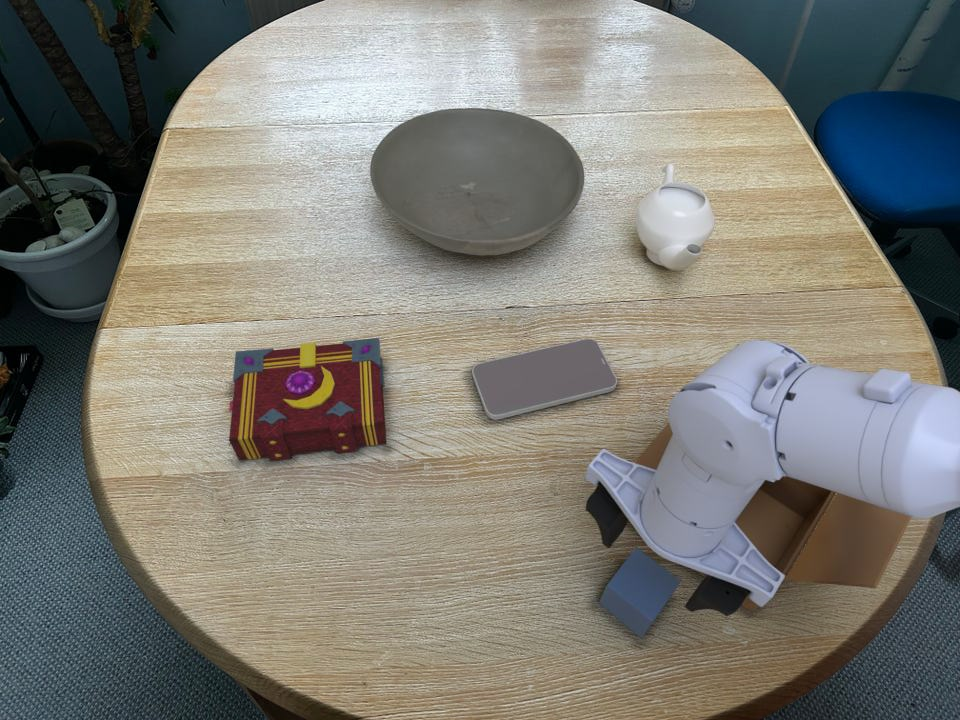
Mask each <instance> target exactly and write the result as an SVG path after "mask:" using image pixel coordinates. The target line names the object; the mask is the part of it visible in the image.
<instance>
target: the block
mask: <svg viewBox="0 0 960 720" xmlns="http://www.w3.org/2000/svg"><path fill="white" fill-rule="evenodd" d="M681 583H682V580H681V579H680V578H678V577H677V576H675V575H674V574H673V573H672V572H670V571H669V570H667V568H666V567H663V565H661V564H660V563H658V562H657V561H655V559H654V558H651V557H650V556H649V555H647V553H645V552H643V550H641V549H640V548H638V547H637V546H636V547H634V549H633V550H632V551H631V552H630V554H629V555H628V557H626V559H625V561H624V562H623V563H622V565H621V566H620V567H619V568H618V570H617V571H616V573H615V574H614V575H613V576H612V578H611V579H610V580H609V582H608V583H607V584H606V586H605V588H604V590H603V593H602V595H601V597H600V599H599V601H598V604H599V605H600V606H601V607H602V608H604V610H606V611H607V612H608V613H609V614H611V615H612V616H613V617H615V618H616V619H617V620H618V621H620V622H621V623H622V624H623V625H624V626H625V627H627V628H628V629H629V630H631V631H632V632H633V633H635V635H637V636H638V637H639V638H641V639H642V638H643V637H644V635H645V634H646V632H647V631H648V630H649V628H650V627H651V626H652V624H653V622H654V621H655V620H656V619H657V617H658V615H659V614H660V612H661V611H662V610H663V608H664V607H665V605H666V604H667V602H668V601H669V600H670V598H671V597H672V595H673V594H674V592H675V591H676V590H677V589H678V587H679V585H680V584H681Z"/></svg>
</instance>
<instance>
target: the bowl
mask: <svg viewBox="0 0 960 720" xmlns="http://www.w3.org/2000/svg"><path fill="white" fill-rule="evenodd" d="M369 166H370V167H369V174H370V175H369V176H370V181H371V185H372V188H373V190H374V193H375V195H376V197H377V199H378V201H379V202H380V203H381V205H382V206H383V208H384V209H385V210H386V212H387V213H388V214H389V215H390V216H391V218H392V219H393V220H394V221H396V222H397V223H398V224H399V225H400V226H401V227H403V228H404V229H406V230H407V231H409V232H410V233H411V234H413V235H415V236H416V237H418V238H420V239H421V240H423V241H425V242H427V243H428V244H431V245H433V246H435V247H437V248H440V249H442V250H445V251H449V252H453V253H458V254H464V255H472V256H481V257H482V256H498V255H499V256H500V255H504V254H505V255H506V254H510V253H512V252H516V251H520V250H522V249H526V248H528V247H530V246H532V245H533V244H536V243H537V242H539V241H540V240H542V239H543V238H545V237H547V235H549V234H550V233H552V232H553V231H555V230H556V229H557V228H558V227H559V226H560V225H561V224H562V223H563V222H565V221H566V220H567V218H568V217H569V216H570V215H571V213H572V212H573V211H574V210H575V208H576V206H577V205H578V204H579V201H580V199H581V197H582V194H583V191H584V187H585V169H584V165H583V162H582V160H581V158H580V156H579V154H578V153H577V151H576V150H575V148H574V146H573V145H572V144H571V143H570V142H569V141H568V139H567V138H566V137H564V136H563V134H561V133H560V132H558V131H557V130H555V128H552V127H551V126H550V125H547V124H546V123H544V122H542V121H539V120H537V119H536V118H532V117H529V116H526V115H523V114H520V113H516V112H512V111H507V110H501V109H496V108H495V109H494V108H493V109H492V108H481V107H464V108H463V107H459V108H458V107H457V108H446V109H440V110H434V111H431V112H426V113H424V114H420V115H418V116H415V117H412V118H410V119H408V120H406V121H403V122H402V123H400V124H398V125H397V126H395V127H394V128H392V130H391V131H389V132H388V133H387V134H386V135H385V136H384V137H383V138H382V139H381V141H379V144H378V145H377V146H376V148H375V150H374V152H373V153H372V156H371V161H370V165H369Z"/></svg>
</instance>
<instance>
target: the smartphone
mask: <svg viewBox="0 0 960 720" xmlns="http://www.w3.org/2000/svg"><path fill="white" fill-rule="evenodd" d="M471 376H472V379H473V380H472V381H473V382H474V385H475V388H476V391H477V393H478V397H479V398H480V401H481V405H482V407H483V410H484V412H485V415H486V416H487V417H488V418H489V419H491V420H493V421H494V420H496V421H497V420H498V421H499V420H503V419H506V418H511V417H514V416H519V415H522V414H526V413H531V412H534V411H539V410H543V409H547V408H551V407H556V406H558V405H562V404H567V403H571V402H575V401H579V400H583V399H587V398H591V397H596V396H598V395H603V394H604V395H605V394H608V393H611V392H613V391H614V390H616V387H617V384H618V379H617V376H616V374H615V373H614V370H613V368H612V367H611V365H610V363H609V361H608V359H607V357H606V355H605V354H604V351H603V349H602V348H601V345H600V344H599V343H598V341H597V340H595V339H593V338H589V337H588V338H582V339H578V340H574V341H573V340H572V341H569V342H564V343H560V344H556V345H552V346H548V347H543V348H539V349H534V350H530V351H526V352H521V353H517V354H513V355H509V356H508V355H507V356H503V357H499V358H495V359H492V360H491V359H490V360H486V361H481V362H477V363H476V364H474V366H473V367H472V370H471Z"/></svg>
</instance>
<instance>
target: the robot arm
mask: <svg viewBox="0 0 960 720" xmlns="http://www.w3.org/2000/svg"><path fill="white" fill-rule="evenodd" d="M911 377H912V376H911V374H910V373H909V372H907V371H901V370H894V369H888V368H880V369H878V370H877V371H876V372H875V373H873V374H872V373H867V372H860V371H856V370H855V371H854V370H850V369H845V368H837V367H832V366H826V365H822V364H821V365H820V364H814V363H811V362H809V360H808V359H807V358H806V357H805V356H804V355H803V354H801V353H800V352H798V351H797V350H796V349H795V348H793V347H791V346H789V345H787V344H784V343H782V342H778V341H772V340H764V339H763V340H762V339H750V340H749V339H748V340H746V341H742V342H741V343H740V344H739V343H738V344H737V345H735V346H734V347H733V348H732V349H731V350H729V351H728V352H727V353H725V354H724V355H723V356H721V357H720V358H718V359H717V360H716V361H715V362H714V363H712V364H711V365H710V366H709V367H707V368H706V369H704V371H702V372H700V374H698V375H697V376H695V377H694V378H693V379H692V380H690V381H689V382H688V383H686V384H685V385H684V386H682V388H680V389H679V391H678V393H676V394H675V395H674V396H673V397H672V398H671V400H670V401H669V403H668V408H667V418H668V419H667V420H668V422H669V424H670V427H671V430H672V432H673V435H672V437H671V439H670V441H669V444H668V446H667V448H666V450H665V452H664V454H663V457H662V459H661V461H660V463H659V465H658V467H657V470H654V469H651V468H648V467H645V466H642V465H639V464H636V463H635V461H632V460H629V459H625V458H622V457H619V456H617V455H616V454H613V453H612V452H610V451H609V450H607V449H605V448H602V449H601V450H600V451H599V452H598V453H597V454H596V456H595V457H594V458H593V459H592V461H591V462H590V463H588V465H587V468H586V472H585V476H584V479H585V480H586V481H588V482H589V483H591V484H592V485H594V486H596V487H595V489H594V491H593V492H592V493H591V494H590V495H589V497H587V500H586V503H585V511H586V512H587V513H588V514H589V515H590V516H591V517H592V518H593V520H594V521H595V523H596V525H597V527H598V531H599V533H600V536H601V543H602V545H603V546H604V547H606V548H607V549H608V550H610V548H611V547H612V546H613V544H614V543H615V542H616V541H617V540H618V538H620V535H622V533H623V532H624V530H625V528H626V526H627V525H628V523H630V522H631V523H630V524H631V525H632V526H633V528H634V529H635V531H636V532H637V534H638V535H639V537H640V538H641V539H642V540H643V542H644V543H645V544H646V545H647V547H649V549H650V550H651V551H653V552H654V553H655V554H657V555H658V556H659V557H661V558H663V559H665V560H667V561H670V562H672V563H674V564H677V565H681V566H684V567H686V568H689V569H691V570H693V571H695V570H697V571H700V572H703V573H705V574H708V575H707V576H706V577H705V578H704V577H703V579H702V580H701V581H700V582H699V584H698V586H697V587H696V589H695V590H694V591H693V593H692V594H691V596H690V597H689V598H688V600H687V602H686V603H685V605H684V606H683V607H684V608H685V609H686V610H688V611H689V612H690V613H693V612H697V611H701V610H711V611H715V612H718V613H720V614H722V615H724V616H725V617H728V616H731V615H733V614H735V613H736V612H737V611H738V610H739V609H740V608H741V606H742V603H743V601H744V600H745V598H746V597H747V596H748V595H749V598H750V599H751V600H752V601H753V602H755V603H756V604H757V605H759V606H758V607H760V608H763V607H764V606H765V605H766V604H767V603H768V602H769V601H770V600H771V599H772V598H774V596H775V594H776V592H777V591H778V589H779V587H780V586H781V585H782V584H781V582H782V581H783V579H784V577H785V575H784V574H782V573H781V572H780V571H779V570H777V569H776V568H775V567H773V566H772V565H771V564H770V563H769V562H768V561H767V560H766V559H765V558H764V557H763V556H762V554H761V553H760V552H759V551H758V550H757V549H756V547H755V546H754V545H753V544H752V543H751V541H750V540H749V539H748V538H747V537H746V535H745V534H744V533H743V532H742V530H741V529H740V528H739V527H738V526H737V524H736V523H735V521H736V519H737V518H738V517H739V515H740V514H741V512H742V511H743V509H744V508H745V507H746V505H747V504H748V503H749V501H750V500H751V498H752V497H753V496H754V494H755V493H756V492H757V490H758V489H759V488H760V486H761V485H762V484H763V482H764V481H765V480H768V481H771V482H775V481H776V480H779V479H781V478H782V477H783V476H784V477H785V476H788V477H791V478H794V479H798V480H801V481H804V482H807V483H810V484H813V485H816V486H819V487H822V488H825V489H828V490H831V491H834V492H837V493H840V494H843V495H846V496H849V497H852V498H855V499H858V500H862V501H865V502H868V503H871V504H874V505H876V506H879V507H882V508H885V509H888V510H891V511H895V512H898V513H901V514H904V515H907V516H910V517H912V518H913V519H918V520H926V519H931V518H933V517H936V516H939V515H941V514H943V513H946V512H949V511H952V510H956V509H958V508H960V391H959V390H958V389H955V388H953V387H950V386H949V387H948V386H944V385H938V384H931V383H925V382H919V381H913V380H912V378H911ZM837 493H836V494H837ZM628 520H629V521H630V522H628ZM783 582H784V581H783ZM780 584H781V585H780Z"/></svg>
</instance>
